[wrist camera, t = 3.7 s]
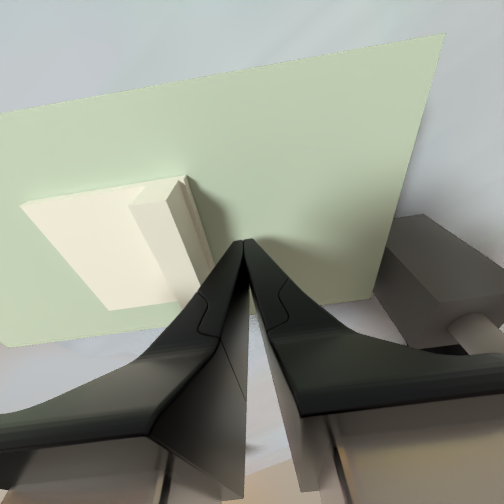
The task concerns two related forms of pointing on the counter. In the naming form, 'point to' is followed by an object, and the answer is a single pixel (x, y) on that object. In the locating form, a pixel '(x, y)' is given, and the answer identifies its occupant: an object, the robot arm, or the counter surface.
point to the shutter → (130, 240)
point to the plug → (440, 288)
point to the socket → (221, 176)
